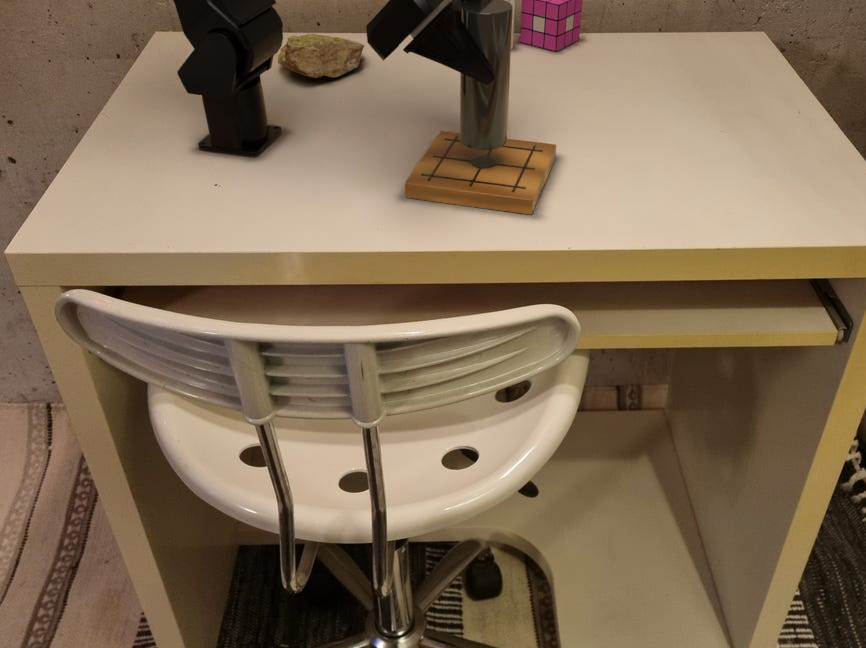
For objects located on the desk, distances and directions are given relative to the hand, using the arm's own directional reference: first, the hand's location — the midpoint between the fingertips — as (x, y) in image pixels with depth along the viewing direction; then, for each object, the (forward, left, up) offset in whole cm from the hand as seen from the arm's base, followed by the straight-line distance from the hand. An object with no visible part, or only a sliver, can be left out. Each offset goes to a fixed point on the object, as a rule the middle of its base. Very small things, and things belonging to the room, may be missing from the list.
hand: (499, 71), depth 75 cm
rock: (+23, +27, -10) cm, 37 cm away
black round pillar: (0, +1, -7) cm, 7 cm away
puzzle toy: (+40, +2, -10) cm, 41 cm away
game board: (0, +1, -10) cm, 10 cm away
